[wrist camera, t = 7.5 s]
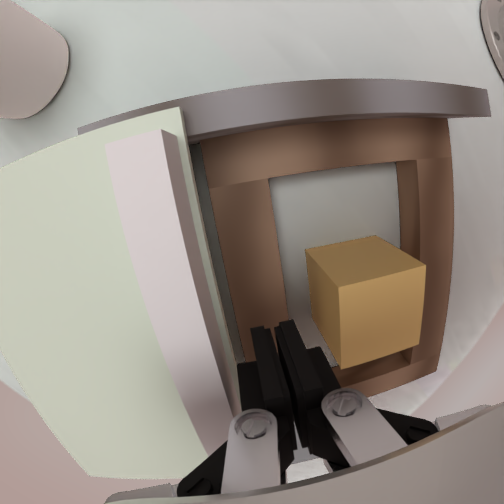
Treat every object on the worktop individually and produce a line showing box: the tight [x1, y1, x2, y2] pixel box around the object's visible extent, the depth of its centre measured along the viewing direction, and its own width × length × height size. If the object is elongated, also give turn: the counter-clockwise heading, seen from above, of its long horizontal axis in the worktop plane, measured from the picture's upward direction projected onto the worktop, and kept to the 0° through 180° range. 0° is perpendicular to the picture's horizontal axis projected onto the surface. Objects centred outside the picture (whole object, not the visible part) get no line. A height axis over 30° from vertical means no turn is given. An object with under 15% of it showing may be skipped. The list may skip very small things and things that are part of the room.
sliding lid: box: [0, 107, 242, 479], centre depth 11 cm, size 12×19×4 cm, turn 10°
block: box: [305, 235, 426, 370], centre depth 18 cm, size 5×5×6 cm
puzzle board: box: [77, 79, 491, 397], centre depth 17 cm, size 20×21×6 cm
